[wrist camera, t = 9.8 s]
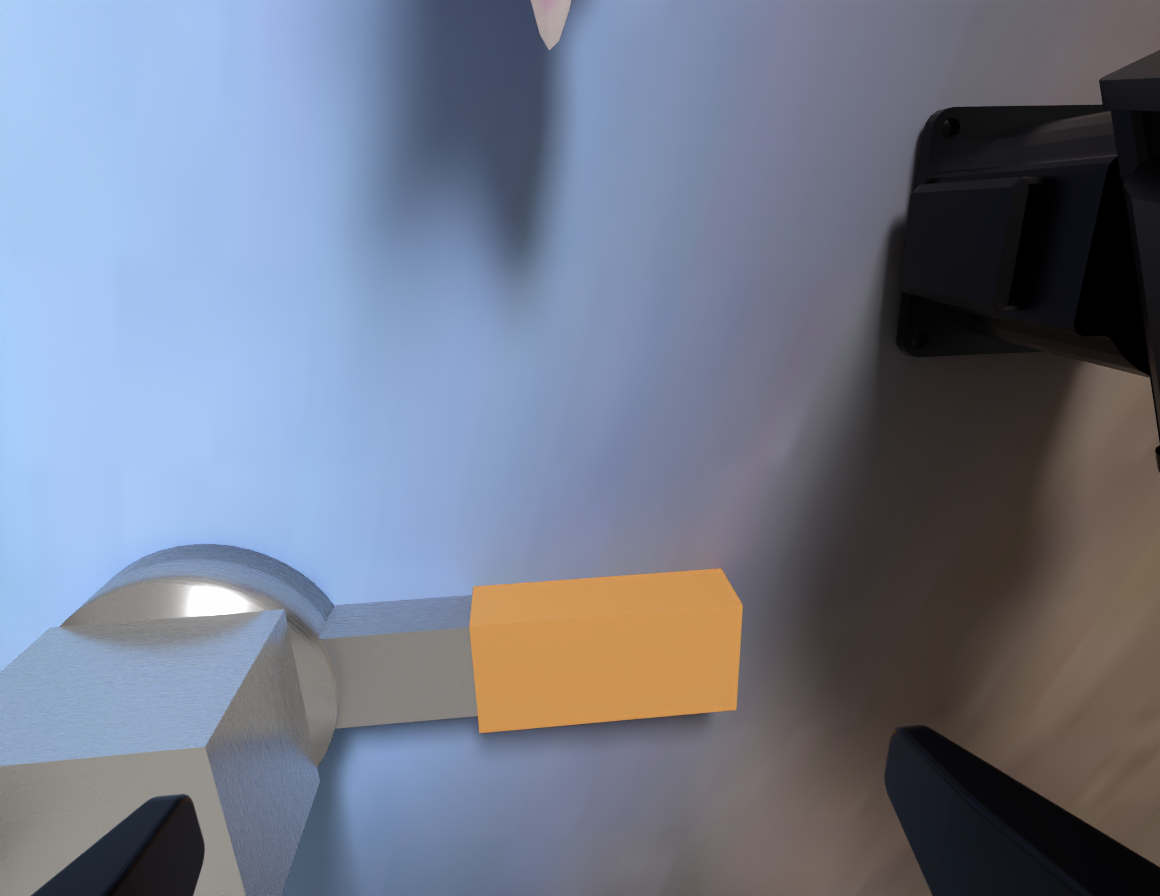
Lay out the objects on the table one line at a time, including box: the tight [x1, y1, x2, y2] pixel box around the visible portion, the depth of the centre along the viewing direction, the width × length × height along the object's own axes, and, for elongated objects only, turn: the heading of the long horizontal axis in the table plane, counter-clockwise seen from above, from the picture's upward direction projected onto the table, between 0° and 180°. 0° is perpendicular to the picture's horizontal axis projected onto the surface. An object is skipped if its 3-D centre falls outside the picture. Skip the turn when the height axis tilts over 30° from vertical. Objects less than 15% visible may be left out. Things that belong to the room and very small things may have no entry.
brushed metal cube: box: [0, 609, 320, 896], centre depth 17 cm, size 6×6×5 cm
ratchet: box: [60, 544, 743, 767], centre depth 19 cm, size 20×8×5 cm, turn 92°
